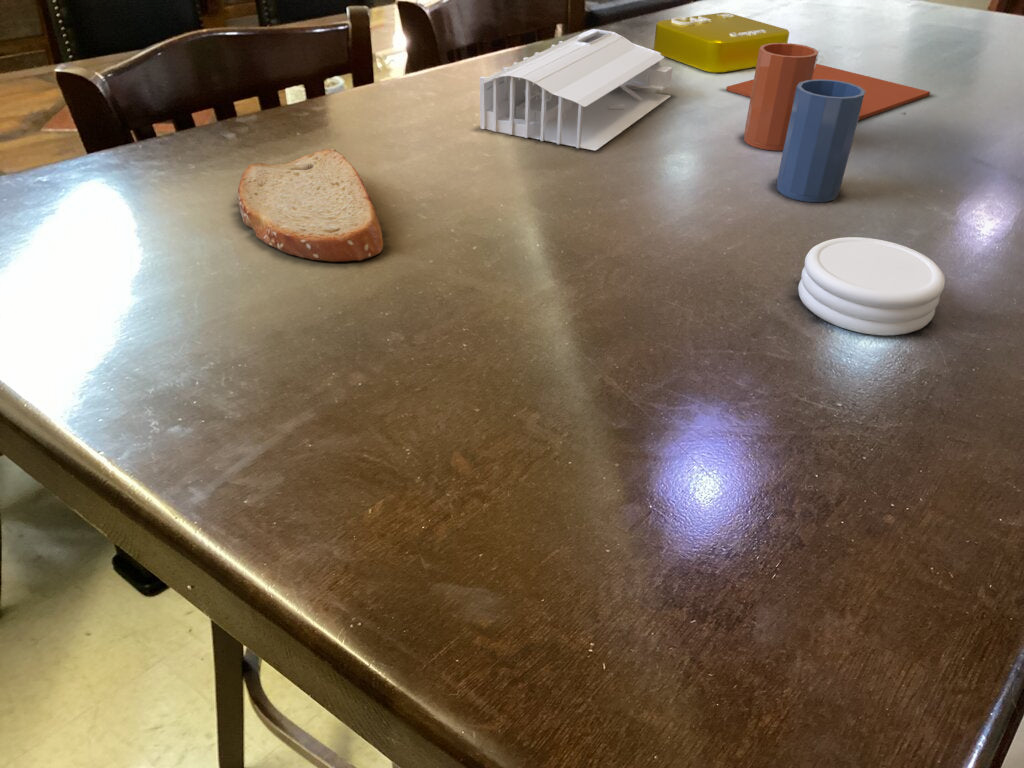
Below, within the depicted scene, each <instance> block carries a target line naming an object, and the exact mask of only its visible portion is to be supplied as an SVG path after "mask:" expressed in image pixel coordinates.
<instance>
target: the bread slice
mask: <svg viewBox="0 0 1024 768" xmlns="http://www.w3.org/2000/svg"><path fill="white" fill-rule="evenodd" d="M237 202H238V208H239V211H240V216H241V218H242V221H243V224H244V225H245V226H247V227H248V228H250V229H252V230H253V231H254V234H255V236H256V238H258V239H259V240H260V241H262V242H263V243H265V244H266V245H268V246H270V247H272V248H275V249H277V250H278V251H281V252H284V253H285V254H288V255H290V256H296V257H299V258H303V259H309V260H313V261H324V262H351V261H352V262H353V261H363V260H367V259H370V258H373V257H375V256H377V255H379V254H380V253H381V252H382V251H383V249H384V240H383V233H382V232H383V231H382V226H381V222H380V220H379V217H378V214H377V211H376V208H375V206H374V204H373V202H372V199H371V197H370V195H369V194H368V190H367V188H366V186H365V184H364V181H363V179H362V178H361V176H360V175H359V172H358V171H357V169H356V168H355V167H354V166H353V164H352V163H350V162H349V160H347V158H346V157H345V156H344V155H343V154H342V153H340V152H338V151H337V150H336V149H335V148H331V149H329V148H326V149H323V150H318V151H315V152H313V153H310V154H306V155H302V156H300V157H298V158H296V159H293V160H291V161H288V162H286V163H278V164H277V163H275V164H267V163H261V162H260V163H259V162H256V163H254V162H253V163H251V164H250V163H249V165H247V167H246V168H245V169H244V171H243V172H242V175H241V178H240V180H239V183H238V188H237Z"/></svg>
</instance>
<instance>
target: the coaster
mask: <svg viewBox="0 0 1024 768" xmlns="http://www.w3.org/2000/svg"><path fill="white" fill-rule="evenodd" d="M800 276H801V277H800V278H801V279H800V280H799V283H798V286H797V289H798V290H797V291H798V296H799V298H800V300H801V302H802V304H803V305H804V306H805V307H806V308H807V309H808V310H809V311H810V312H811V313H813V314H814V315H815V316H816V317H818V318H820V319H821V320H823V321H825V322H827V323H829V324H832V325H833V326H836V327H839V328H842V329H843V330H844V329H845V330H848V331H851V332H856V333H860V334H865V335H872V336H899V335H905V334H909V333H912V332H917V331H919V330H921V329H923V328H924V327H926V326H927V325H928V324H929V323H930V322H931V321H932V320H933V318H934V316H935V314H936V308H937V306H938V305H939V303H940V299H941V294H942V293H943V291H944V289H945V286H946V285H945V284H946V278H945V275H944V273H943V271H942V270H941V268H940V267H939V266H938V264H936V262H934V261H933V260H932V259H931V258H929V257H928V256H926V255H925V254H923V253H921V252H919V251H917V250H915V249H912V248H911V247H908V246H905V245H902V244H899V243H895V242H891V241H888V240H883V239H877V238H871V237H862V236H861V237H857V236H849V237H837V238H836V237H835V238H832V239H828V240H825V241H822V242H820V243H818V244H816V245H814V246H813V247H812V248H811V249H810V250H809V251H808V252H807V254H806V256H805V258H804V267H803V268H802V270H801V275H800Z"/></svg>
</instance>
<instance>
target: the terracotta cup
mask: <svg viewBox="0 0 1024 768" xmlns="http://www.w3.org/2000/svg"><path fill="white" fill-rule="evenodd" d="M819 53H820V52H819V51H818V50H817V49H816V48H814V47H812V46H808V45H804V44H800V43H799V44H798V43H790V42H788V43H770V44H765V45H762V46H761V47H760V48H759V54H758V59H757V65H756V67H755V72H754V76H753V79H754V81H753V87H752V92H751V97H749V104H748V109H747V114H746V120H745V127H744V130H743V131H744V132H743V141H744V143H746V144H747V145H749V146H751V147H753V148H756V149H760V150H765V151H772V152H773V151H774V152H776V151H777V152H779V151H780V152H783V149H784V145H785V140H786V135H787V130H788V126H789V121H790V116H791V112H792V107H793V102H794V97H795V93H796V88H797V85H798V84H799V83H800V82H803V81H806V80H813V75H814V71H815V66H816V64H817V62H818V57H819Z"/></svg>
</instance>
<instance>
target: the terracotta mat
mask: <svg viewBox="0 0 1024 768" xmlns="http://www.w3.org/2000/svg"><path fill="white" fill-rule="evenodd" d="M817 79H824V80H837V81H842V82H847V83H851V84H854V85H857V86H860V87H861V88H862V89H864V90H865V91H866V92H865V96H864V100H863V103H862V107H861V111H860V115H859V119H858V121H861V120H863V119H866V118H869V117H872V116H875V115H878V114H880V113H883V112H886V111H889V110H892V109H895V108H897V107H900V106H903V105H906V104H909V103H912V102H914V101H917V100H920V99H923V98H925V97H929V96H930V94H931V91H929V90H926V89H925V90H924V89H920V88H917V87H913V86H908V85H905V84H900V83H896V82H892V81H888V80H884V79H881V78H876V77H872V76H868V75H864V74H860V73H856V72H852V71H848V70H844V69H839V68H837V67H832V66H828V65H823V64H820V63H816V66H815V71H814V75H813V80H817ZM753 81H754V78H753V79H749V80H746V81H742V82H738V83H734V84H731V85H727V86H726V90H725V91H728V92H730V93H735V94H738V95H742V96H743V97H747V98H751V92H752V87H753Z"/></svg>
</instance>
